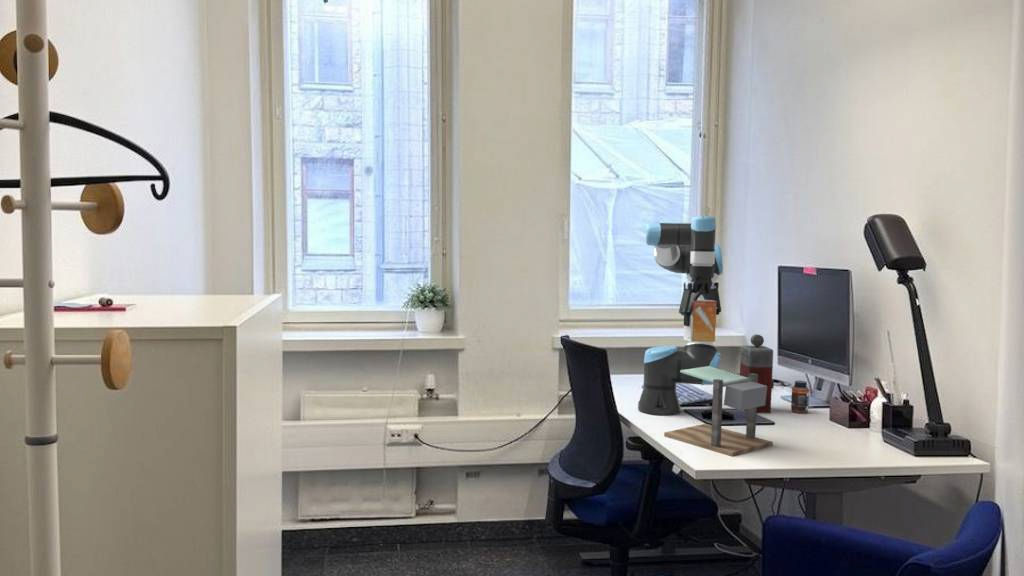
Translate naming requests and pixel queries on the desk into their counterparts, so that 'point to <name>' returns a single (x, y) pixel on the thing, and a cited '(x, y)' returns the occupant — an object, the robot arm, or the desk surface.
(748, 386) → the trapdoor
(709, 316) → the small box
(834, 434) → the desk surface
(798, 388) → the supplement bottle
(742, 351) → the red and grey canister
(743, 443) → the frame
